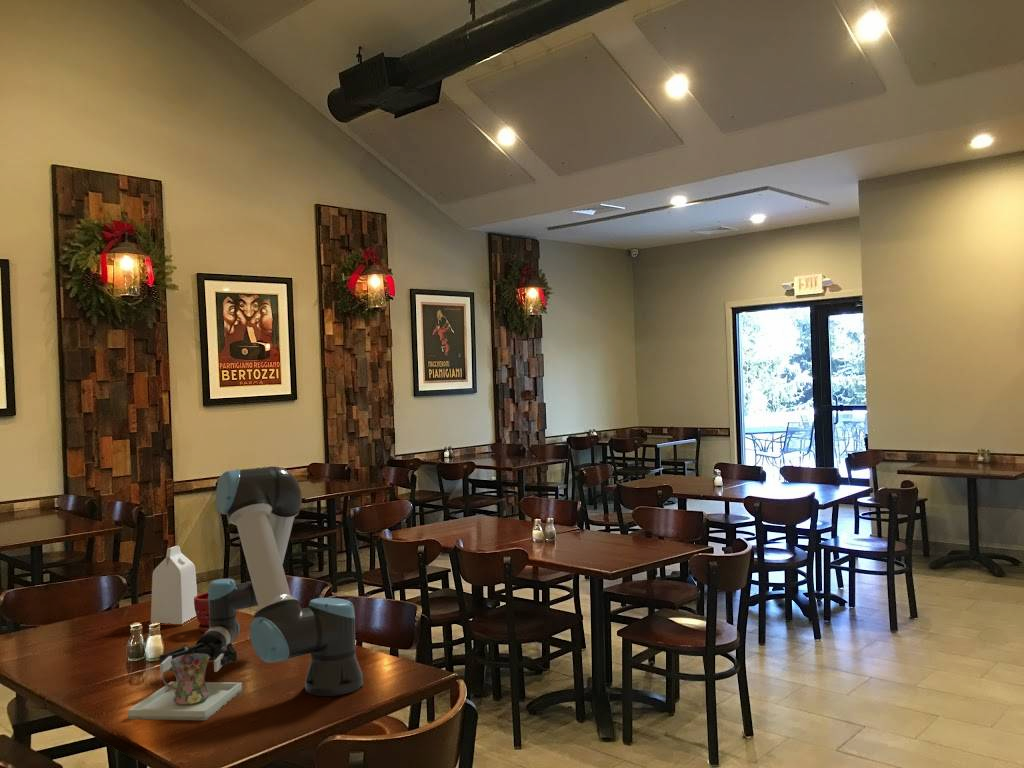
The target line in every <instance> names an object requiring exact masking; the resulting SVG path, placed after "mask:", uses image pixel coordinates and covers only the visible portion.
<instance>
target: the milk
mask: <svg viewBox="0 0 1024 768" xmlns="http://www.w3.org/2000/svg"><path fill="white" fill-rule="evenodd" d="M166 549H167V550H166V555H165V558H164V559H163V560H162V561H161V562H160V563H159V564H158V565H157V566H156V567H155V568H154V569H153V571H152V577H151V578H152V579H151V580H152V581H151V583H152V584H151V605H150V607H151V608H150V624H151V623H152V622H159V623H165V624H166V623H167V624H168V623H169V624H170V623H171V624H183V623H184V622H186V621H188V620H190V619H191V618H193V617H195V616H196V612H195V607H194V597H195V596H197V595H198V586H197V573H196V565H195V564H194V562H193V561H191V560H190V559H189V558H188V556H186V555H185V554H184V553H182V551H181V548H180V545H174V546H172V547H168V548H166Z"/></svg>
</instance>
